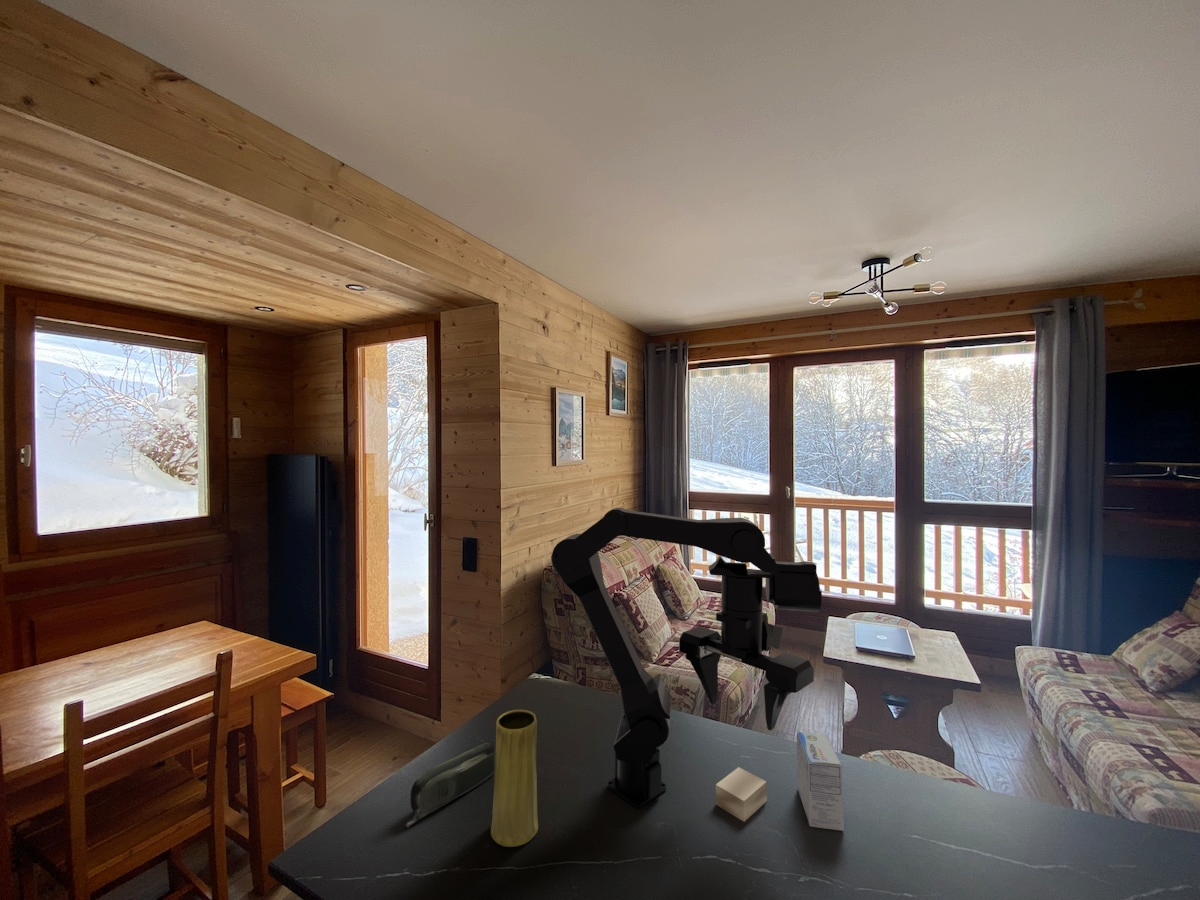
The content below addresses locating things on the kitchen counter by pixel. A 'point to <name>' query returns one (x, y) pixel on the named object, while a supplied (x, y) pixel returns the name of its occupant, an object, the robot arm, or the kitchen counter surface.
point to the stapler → (451, 780)
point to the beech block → (741, 793)
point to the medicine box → (820, 781)
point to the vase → (515, 779)
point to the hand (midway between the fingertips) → (740, 715)
